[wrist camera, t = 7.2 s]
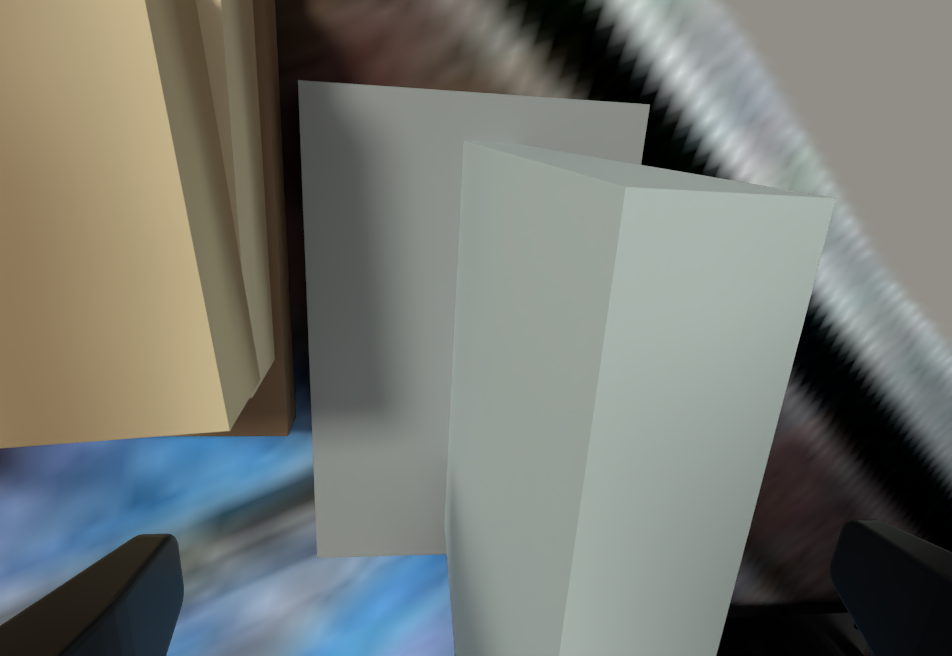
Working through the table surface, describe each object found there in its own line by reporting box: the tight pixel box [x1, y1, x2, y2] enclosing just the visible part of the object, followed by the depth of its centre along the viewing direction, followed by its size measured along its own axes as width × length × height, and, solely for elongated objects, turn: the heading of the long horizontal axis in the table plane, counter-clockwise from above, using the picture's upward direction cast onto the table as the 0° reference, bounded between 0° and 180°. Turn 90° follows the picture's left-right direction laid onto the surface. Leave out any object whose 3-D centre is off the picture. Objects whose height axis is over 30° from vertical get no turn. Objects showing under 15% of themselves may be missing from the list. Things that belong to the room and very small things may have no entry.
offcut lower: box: [196, 0, 275, 398], centre depth 11 cm, size 5×8×2 cm, turn 177°
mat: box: [298, 80, 650, 558], centre depth 14 cm, size 8×12×1 cm, turn 177°
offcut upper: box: [0, 0, 260, 448], centre depth 9 cm, size 4×7×2 cm, turn 2°
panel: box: [444, 141, 836, 656], centre depth 9 cm, size 1×10×10 cm, turn 177°
